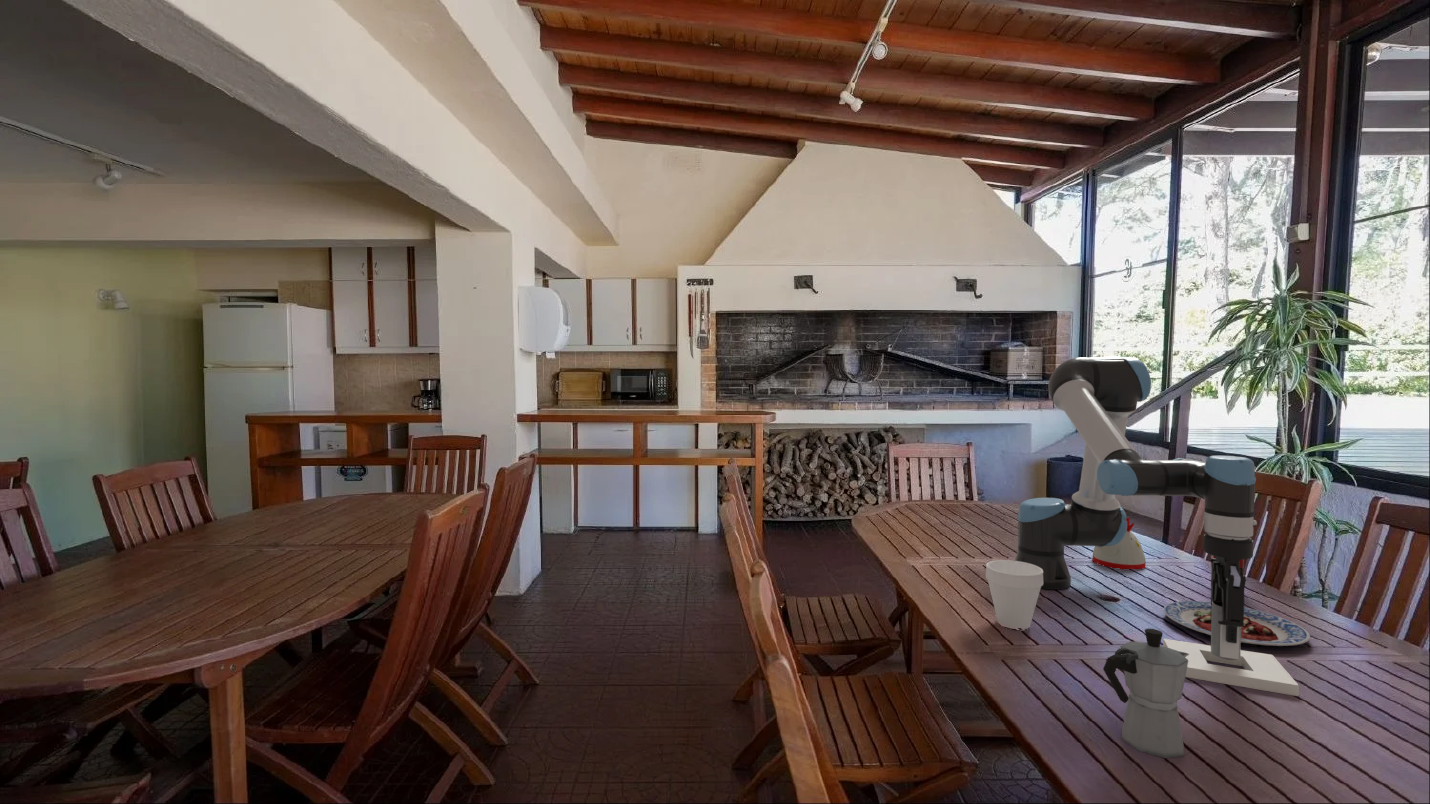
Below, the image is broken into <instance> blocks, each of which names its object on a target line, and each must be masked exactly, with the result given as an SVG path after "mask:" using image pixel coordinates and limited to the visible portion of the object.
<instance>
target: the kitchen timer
mask: <svg viewBox="0 0 1430 804" xmlns="http://www.w3.org/2000/svg"><path fill="white" fill-rule="evenodd" d="M1126 521H1127V530H1126V534H1125V536H1124V538H1123V539H1122V541H1121V542H1120V543H1118V544H1116V545H1113V546H1103V547H1097V546H1093V547H1094V548H1093V551H1092V562H1093V561H1094V563H1095V564H1097V563H1098V564H1097V565H1099V564H1100V566H1102V565H1104V566H1103V567H1105V566H1107V567H1106V568H1110V567H1112V568H1111V569H1115V568H1120V569H1119V570H1123V569H1141V570H1143V569H1142V568H1144V569H1146V567H1147V566H1146V564H1147V563H1146V557H1145V553H1144V550H1143V548H1142V545H1141V542H1140V541H1139V539H1138V538H1137V536H1136V534H1134V532H1132V531H1131V530H1132V529H1133V527H1134V525H1135V522H1133V523H1131V524H1130V517H1127V518H1126ZM1145 566H1146V567H1145Z"/></svg>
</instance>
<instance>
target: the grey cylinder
mask: <svg viewBox="0 0 1430 804" xmlns="http://www.w3.org/2000/svg"><path fill="white" fill-rule="evenodd" d="M1222 620H1223V614H1222V600H1214V601H1212V620H1211V635H1210V646H1211V653H1212V654H1213V655H1215V656H1217V657H1220V658H1223V659H1228V660H1238V659H1232V658H1226V657H1221V656H1220V632H1221V624H1218V621H1222ZM1241 644H1242V643H1241V627H1239V659H1240V654H1241V650H1242V649H1241V648H1242V645H1241Z"/></svg>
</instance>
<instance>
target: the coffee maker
mask: <svg viewBox="0 0 1430 804" xmlns="http://www.w3.org/2000/svg"><path fill="white" fill-rule="evenodd" d="M1144 634H1145V638H1146V642H1145V641H1144V642H1142V641H1132V640H1131V641H1129V642H1127V643H1124V644H1122V645H1120V648H1118V649H1117V650H1115V652H1114V654H1113V655H1111V656H1109V657H1107V659H1106V661H1105V664H1104V666H1103V668H1102V670H1103V671H1104V673H1105V675H1106V677H1107V679H1108V681H1109V682H1110V685H1111V686H1112V688H1113V689H1114V691H1115V693H1116V695H1117V697H1118V698H1119V700H1120V702H1122V703H1124V704H1126V703H1127V705H1126V709H1125V710H1126V711H1125V714H1124V720H1123V724H1122V725H1123V726H1122V729H1121V738H1120V739H1121V740H1123V741H1124V742H1125V743H1127V744H1128V745H1130V746H1131V747H1132V748H1134V749H1135V750H1137V751H1138V752H1142V753H1146V754H1148V755H1153V756H1156V757H1159V758H1163V759H1169V758H1170V759H1171V758H1178V757H1179V758H1180V757H1184V756H1185V749H1184V748H1185V747H1184V740H1183V732H1182V728H1181V727H1182V726H1181V720H1180V714H1179V707H1178V701H1179V700H1181V699H1182V697H1183V690H1184V685H1185V680H1186V677H1185V676H1186V671H1187V665H1188V659H1186V658H1185V657H1186V656H1188V655H1189V654H1188V653H1184V652H1179V651H1177V650H1174V649H1170V648H1167V647H1164V646H1163V645H1161V642H1162V640H1163V639H1162V638H1163V635H1164V634H1163V632H1162V631H1161V630H1159V629H1156V628H1155V629H1154V628H1145V629H1144ZM1117 669H1118V670H1120V671H1123V673H1124V674H1123V675H1124V679H1125V680H1124V681H1125V686H1126V687H1127V688H1128V689H1129V694H1128V693H1127V692H1126V690H1125V689H1124V687H1123V686H1122V683H1121V682H1120V680H1119V679H1118V676H1117V674H1116V671H1117Z"/></svg>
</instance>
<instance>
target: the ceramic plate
mask: <svg viewBox="0 0 1430 804" xmlns="http://www.w3.org/2000/svg"><path fill="white" fill-rule="evenodd" d="M1210 602H1211V601H1203V600H1202V601H1201V600H1200V601H1198V600H1191V601H1189V600H1186V601H1185V600H1184V601H1183V600H1182V601H1176V602H1171V603H1168V604H1166V605H1165V606H1164V607H1163V612H1164V614H1165V615H1166V617H1167V618H1169V619H1171V621H1174V622H1175V623H1176V624H1179V625H1181V626H1183V627H1185V628H1188V629H1190V630H1193V631H1196V632H1199V633H1202V634H1206V635H1207V636H1211V620H1212V606H1211V603H1210ZM1243 623H1244V625H1243V627H1241V644H1248V645H1259V646H1261V645H1262V646H1273V647H1276V646H1277V647H1284V646H1285V647H1289V646H1298V645H1299V646H1300V645H1303V644H1306V643H1307V642H1309V641H1310V638H1311V635H1310V633H1309V632H1308V630H1306V629H1305V628H1303V627H1302V626H1301V625H1299V624H1297V623H1296V622H1293V621H1290V620H1288V619H1286V618H1284V617H1280V616H1278V615H1274V614H1271V613H1268V612H1264V611H1262V610H1257V609H1254V608H1249V607H1245V606H1244V621H1243Z"/></svg>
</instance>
